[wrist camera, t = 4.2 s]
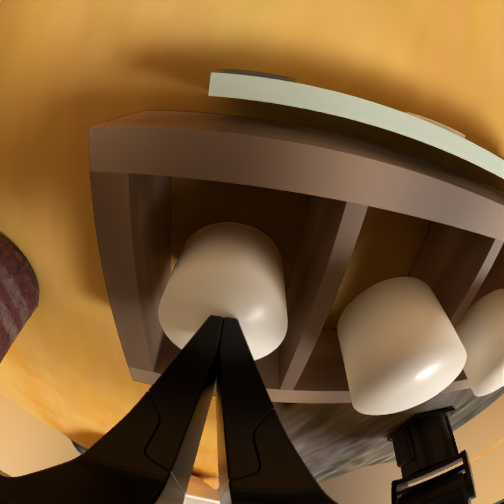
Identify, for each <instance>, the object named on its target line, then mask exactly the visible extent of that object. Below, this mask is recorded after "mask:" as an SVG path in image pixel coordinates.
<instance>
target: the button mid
mask: <svg viewBox="0 0 504 504" xmlns="http://www.w3.org/2000/svg"><path fill="white" fill-rule="evenodd" d="M337 333H338V338H339V343H340V347H341V352H342V356H343V361H344V366H345V370H346V375H347V380H348V385H349V390H350V396H351V401H352V405H353V408H354V409H355V410H357V411H358V412H360V413H363V414H367V415H385V414H391V413H396V412H400V411H403V410H406V409H409V408H412V407H414V406H417V405H419V404H421V403H423V402H425V401H427V400H429V399H430V398H432V397H434V396H435V395H437V394H438V393H440V392H441V391H442V390H444V389H445V388H446V387H447V386H448V385H450V384H451V383H452V382H453V381H454V380H455V379H456V377H457V376H458V375H459V374H460V372H461V371H462V369H463V367H464V365H465V363H466V359H467V353H466V350H465V348H464V346H463V344H462V342H461V340H460V339H459V337H458V335H457V333H456V331H455V329H454V327H453V326H452V324H451V322H450V320H449V319H448V317H447V315H446V313H445V312H444V310H443V308H442V306H441V305H440V303H439V301H438V300H437V298H436V296H435V295H434V293H433V292H432V290H431V288H430V287H429V286H428V285H427V284H426V283H425V282H423V281H422V280H420V279H417V278H413V277H396V278H391V279H387V280H384V281H381V282H379V283H376V284H374V285H373V286H371V287H369V288H367V289H366V290H364V291H362V292H361V293H360V294H358V295H357V296H356V297H355V298H354V299H353V300H352V301H351V302H350V303H349V304H348V305H347V306H346V308H345V309H344V311H343V312H342V314H341V316H340V318H339V321H338V325H337Z"/></svg>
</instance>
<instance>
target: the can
mask: <svg viewBox="0 0 504 504" xmlns="http://www.w3.org/2000/svg"><path fill="white" fill-rule="evenodd" d="M38 300H39V286H38V280H37V278H36V275H35V273H34V270H33V268H32V267H31V265H30V263H29V262H28V260H27V258H26V257H25V256H24V255H23V253H22V252H21V251H20V250H19V248H17V247H16V246H15V245H14V244H13V243H12V242H11V241H10V240H8V239H6V238H4V237H2V236H0V363H1V361H2V360H3V358H4V356H5V355H6V353H7V351H8V350H9V348H10V346H11V345H12V343H13V342H14V340H15V338H16V337H17V335H18V334H19V332H20V331H21V329H22V328H23V326H24V325H25V323H26V322H27V320H28V319H29V317H30V316H31V315H32V313H33V312H34V310H35V309H36V308H37V305H38Z"/></svg>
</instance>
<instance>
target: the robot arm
mask: <svg viewBox="0 0 504 504" xmlns="http://www.w3.org/2000/svg"><path fill="white" fill-rule="evenodd" d="M216 377H217V379H216ZM215 383H216V413H217V448H218V472H219V492H220V504H338V503H337V502H335V501H334V500H333V499H331V498H330V497H329V496H328V495H327V494H326V493H325V491H324V490H323V489H322V488H321V487H320V486H319V484H318V483H317V481H316V480H315V478H314V477H313V475H312V474H311V472H310V471H309V469H308V468H307V466H306V465H305V463H304V462H303V460H302V459H301V457H300V456H299V454H298V453H297V451H296V449H295V448H294V446H293V444H292V443H291V441H290V439H289V438H288V436H287V434H286V432H285V430H284V428H283V426H282V424H281V422H280V420H279V417H278V415H277V413H276V410H275V409H274V406H273V404H272V401H271V399H270V397H269V394H268V392H267V390H266V387H265V385H264V382H263V380H262V378H261V375H260V373H259V370H258V368H257V366H256V363H255V361H254V358H253V356H252V353H251V351H250V348H249V346H248V343H247V341H246V338H245V336H244V333H243V331H242V328H241V326H240V323H239V321H238V319H237V318H231V317H225V318H224V319H223V317H222V316H216V315H210V316H209V317H208V318H207V319H206V321H205V322H204V323H203V324H202V325H201V327H200V328H199V329H198V330H197V332H196V333H195V334H194V335H193V336H192V338H191V339H190V340H189V341H188V343H187V344H186V345H185V346H184V347H183V349H182V350H181V351H180V352H179V354H178V355H177V356H176V357H175V358H174V360H173V361H172V362H171V363H170V364H169V366H168V367H167V368H166V369H165V371H164V372H163V373H162V374H161V375H160V377H159V378H158V379H157V380H156V381H155V383H154V384H153V385H152V386H151V387H150V389H149V392H148V391H147V392H146V393H145V395H144V396H143V397H142V398H141V399H140V401H139V402H138V403H137V404H136V405H135V406H134V407H133V408H132V409H131V411H130V412H129V413H128V414H127V415H126V416H125V417H124V418H123V419H122V420H121V421H119V422H118V423H117V424H116V425H115V426H114V427H113V428H112V429H111V430H110V431H108V432H107V433H106V434H105V435H104V436H103V437H102V438H101V439H99V440H98V441H97V442H96V443H95V444H94V445H93V446H91V447H90V448H89V449H88V450H87V451H85V452H84V453H83V454H81V455H80V456H78V457H77V458H75V459H72V460H70V461H68V462H65V463H62V464H59V465H56V466H53V467H50V468H47V469H44V470H41V471H37V472H34V473H30V474H27V475H23V476H19V477H11V476H9V475H8V474H6V473H4V472H2V471H1V470H0V504H183V503H184V499H185V495H186V491H187V488H188V484H189V480H190V476H191V473H192V469H193V465H194V462H195V458H196V454H197V451H198V447H199V443H200V439H201V436H202V432H203V428H204V425H205V421H206V417H207V413H208V410H209V406H210V402H211V399H212V395H213V391H214V387H215ZM455 411H456V410H455V408H450V409H445V410H441V411H436V412H431V413H425V414H420V415H416V416H414V417H413V418H411V419H410V420H409V421H408V422H407V423H406V424H404V425H403V426H402V427H401V428H400V429H398V430H397V431H396V432H395V433H393V434H392V435H391V436H390V437H388V438H387V440H388V442H392V441H393V446H394V451H395V456H396V461H397V466H398V467H401V472H402V479H399V480H394V481H392V483H391V484H392V488H391V493H392V494H391V497H392V504H471V500H472V499H474V498H476V492H475V486H474V480H473V475H472V470H471V465H470V461H469V458H468V454H467V452H466V450H464V451H462V452H461V453H458V449H457V446H456V442H455V439H454V435H453V432H452V429H451V425H450V422H449V419H448V417H449V416H450V415H452V414H453V413H454V412H455ZM461 461H463V464H462V465H460V466H458V467H456V468H454V469H452V470H450V471H448V472H446V473H443V474H441V475H439V476H436V477H434V478H432V479H429V480H427V481H424V482H422V483H419V484H417V485H414V486H411V487H408V484H411V483H414V482H417V481H419V480H422V479H424V478H427V477H429V476H431V475H434V474H436V473H438V472H441V471H443V470H445V469H447V468H449V467H451V466H453V465H455V464H457V463H459V462H461ZM463 472H465V473H464V474H463ZM494 504H504V499H502V500H500V501H498V502H496V503H494Z"/></svg>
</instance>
